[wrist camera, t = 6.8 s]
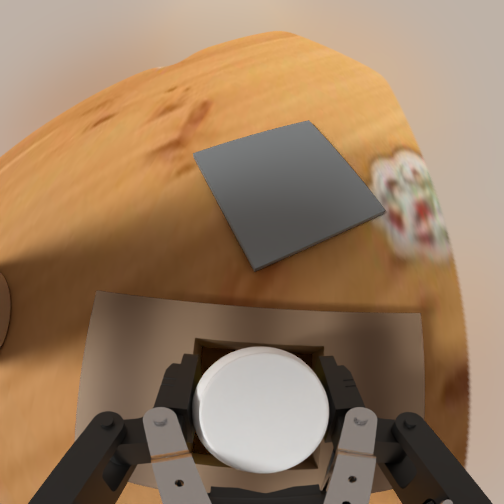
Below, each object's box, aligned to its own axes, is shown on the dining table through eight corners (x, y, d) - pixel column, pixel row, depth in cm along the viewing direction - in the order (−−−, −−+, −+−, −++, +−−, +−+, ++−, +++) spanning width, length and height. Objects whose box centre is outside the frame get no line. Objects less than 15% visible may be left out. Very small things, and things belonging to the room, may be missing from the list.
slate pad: (254, 271, 21) (254, 268, 20) (193, 157, 26) (192, 153, 25) (383, 213, 23) (385, 210, 23) (307, 124, 28) (308, 120, 28)
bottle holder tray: (399, 325, 19) (420, 312, 17) (396, 474, 14) (418, 482, 11) (114, 305, 19) (96, 290, 17) (95, 457, 14) (74, 463, 12)
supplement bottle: (265, 347, 18) (289, 298, 10) (314, 415, 16) (384, 426, 8) (192, 391, 17) (144, 385, 8) (240, 461, 15) (242, 522, 6)
